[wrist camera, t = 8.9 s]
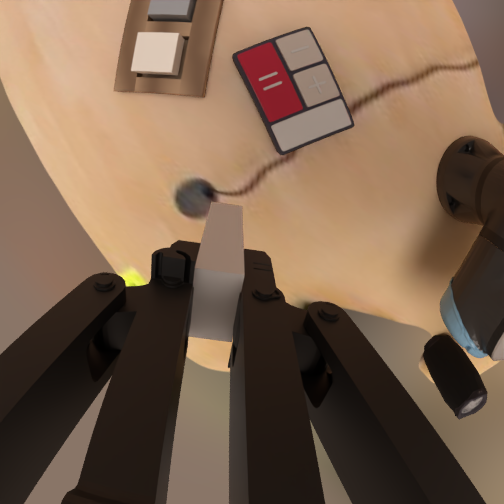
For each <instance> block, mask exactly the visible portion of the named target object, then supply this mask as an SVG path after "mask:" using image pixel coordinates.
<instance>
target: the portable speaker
mask: <svg viewBox="0 0 504 504" xmlns="http://www.w3.org/2000/svg"><path fill="white" fill-rule="evenodd" d="M423 357H424V360H425V363H426V365H427V367H428V370H429V372H430V375H431V377H432V379H433V381H434V382H435V384H436V386H437V387H438V390H439V391H440V393H441V395H442V397H443V399H444V401H445V402H446V403H447V405H448V406H449V407H450V408H451V409H452V410H453V411H454V413H455V416H457V418H458V419H461V418H463V417H466V416H469V415H471V414H474V413H476V412H477V411H478V410H480V409H481V408H482V407H483V406H484V405H485V403H486V400H487V391H486V388H485V386H484V384H483V382H482V380H481V377H480V375H479V373H478V371H477V370H476V368H475V367H474V365H473V364H472V362H471V361H470V359H469V358H468V356H467V355H466V353H465V352H464V351H463V349H462V348H461V347H460V346H459V345H458V344H457V343H456V342H455V341H454V340H453V339H452V338H451V337H450V336H434V337H432V338H431V339H430V340H429V341H428V342H427V343H426V345H425V346H424V355H423Z"/></svg>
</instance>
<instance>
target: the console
mask: <svg viewBox="0 0 504 504" xmlns="http://www.w3.org/2000/svg"><path fill="white" fill-rule="evenodd" d="M150 1H151V0H131V3H130V7H129V11H128V15H127V19H126V24H125V28H124V33H123V38H122V43H121V48H120V54H119V59H118V65H117V71H116V78H115V85H114V91H118V92H145V93H162V94H176V95H187V96H197V97H205V91H206V86H207V80H208V74H209V69H210V63H211V58H212V53H213V48H214V43H215V38H216V33H217V28H218V23H219V18H220V14H221V9H222V5H223V0H196V4H195V8H194V12H193V17H192V21H191V23H188V22H162V21H154V20H153V19H152V18H151V17H150V16H149V15H148V9H149V5H150ZM138 32H163V33H179V34H180V35H181V36H182V37H183V38H184V39H185V40H184V45H183V50H182V56H181V61H180V67H179V72H178V76H177V75H162V74H140V73H137V72H133V71H131V67H132V61H133V56H134V50H135V45H136V40H137V35H138Z"/></svg>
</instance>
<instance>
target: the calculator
mask: <svg viewBox="0 0 504 504" xmlns="http://www.w3.org/2000/svg"><path fill="white" fill-rule="evenodd" d="M233 61H234V63H235V65H236V67H237V69H238V71H239V73H240V75H241V77H242V79H243V81H244V83H245V85H246V87H247V89H248V91H249V93H250V95H251V97H252V99H253V101H254V103H255V105H256V107H257V109H258V112H259V114H260V116H261V118H262V120H263V122H264V124H265V126H266V129H267V131H268V133H269V135H270V137H271V140H272V142H273V144H274V146H275V148H276V151H277V152H278V153H279V154H280V155H285V154H287V153H289V152H292V151H294V150H297V149H299V148H301V147H304V146H306V145H309V144H311V143H314V142H316V141H319V140H321V139H324V138H326V137H329V136H331V135H334V134H336V133H339V132H342V131H344V130H347V129H350V128H352V127H354V121H353V119H352V116H351V114H350V111H349V109H348V107H347V104H346V102H345V99H344V97H343V95H342V92H341V90H340V88H339V86H338V83H337V81H336V79H335V77H334V75H333V72H332V70H331V68H330V66H329V64H328V62H327V60H326V58H325V56H324V54H323V51H322V49H321V47H320V45H319V43H318V42H317V40H316V38H315V36H314V34H313V32H312V30H311V28H309V27H305V28H301V29H298V30H295V31H292V32H289V33H286V34H283V35H280V36H277V37H275V38H272V39H269V40H266V41H264V42H261V43H258V44H256V45H253V46H251V47H248V48H246V49H243V50H241V51H238V52H236V53H234V54H233Z"/></svg>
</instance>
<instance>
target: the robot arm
mask: <svg viewBox="0 0 504 504" xmlns="http://www.w3.org/2000/svg"><path fill="white" fill-rule="evenodd" d="M437 191H438V196H439V199H440V202H441V204H442V206H443V208H444V209H445V210H446V211H447V212H448V213H449V214H450V215H451V216H453V217H454V218H456V219H457V220H459V221H461V222H464V223H471V224H478V225H484V226H483V228H482V230H481V232H480V234H479V235H478V237H477V239H476V241H475V242H474V244H473V246H472V248H471V249H470V251H469V253H468V255H467V256H466V258H465V260H464V261H463V263H462V265H461V266H460V268H459V269H458V271H457V273H456V274H455V276H454V277H452V279H451V280H450V283H449V286H448V288H447V290H446V291H445V293H444V295H443V296H442V298H441V301H440V313H441V316H442V319H443V321H444V323H445V325H446V327H447V329H448V330H449V332H450V333H451V335H452V336H453V337H454V339H455V340H456V341H457V342H458V343H459V344H460V345H461V346H462V347H465V349H466V350H467V352H468V353H470V354H471V355H472V356H474V357H477V358H483V357H485V356H487V355H489V356H490V357H491V359H492V360H493V361H498V360H504V155H503V154H502V153H500V152H499V151H498V150H497V149H496V148H495V147H494V146H493V145H492V144H490V143H489V142H487V141H486V140H483V139H480V138H477V137H473V136H466V137H462V138H460V139H458V140H456V141H455V142H454V143H452V144H451V145H450V147H449V148H448V149H447V150H446V152H445V154H444V155H443V157H442V160H441V162H440V165H439V169H438V175H437ZM485 238H486V239H485ZM489 241H490V242H489ZM493 244H494V245H493ZM497 247H498V248H497ZM501 250H502V251H501ZM188 336H190V337H197V338H204V339H212V340H219V341H227V342H232V337H233V343H232V348H231V353H230V358H229V363H228V368H230V423H229V424H230V425H229V430H230V431H229V504H325V500H324V494H323V489H322V484H321V478H320V472H319V467H318V462H317V456H316V450H315V445H314V440H313V434H312V429H311V424H310V420H311V422H312V424H313V426H314V429H315V430H316V433H317V434H318V436H319V439H320V441H321V443H322V445H323V446H324V449H325V451H326V452H327V455H328V457H329V459H330V460H331V463H332V465H333V467H334V468H335V470H336V472H337V475H338V477H339V478H340V480H341V482H342V484H343V486H344V488H345V490H346V492H347V494H348V496H349V498H350V500H351V502H352V504H486V503H485V502H484V500H483V498H482V497H481V495H480V494H479V492H478V491H477V489H476V488H475V486H474V485H473V484H472V482H471V480H470V479H469V478H468V476H467V475H466V473H465V472H464V470H463V469H462V467H461V466H460V464H459V463H458V462H457V460H456V459H455V457H454V456H453V454H452V453H451V452H450V450H449V449H448V447H447V446H446V445H445V443H444V442H443V440H442V439H441V438H440V436H439V435H438V433H437V432H436V431H435V429H434V428H433V426H432V425H431V424H430V422H429V421H428V420H427V418H426V417H425V415H424V414H423V413H422V411H421V410H420V409H419V407H418V406H417V404H416V403H415V402H414V401H413V399H412V398H411V396H410V395H409V394H408V392H407V391H406V390H405V388H404V387H403V386H402V385H401V383H400V382H399V380H398V379H397V378H396V376H395V375H394V374H393V372H392V371H391V370H390V369H389V368H388V366H387V365H386V363H385V362H384V361H383V359H382V358H381V357H380V355H379V354H378V353H377V351H376V350H375V349H374V348H373V346H372V345H371V344H370V343H369V341H368V340H367V339H366V337H365V336H364V335H363V333H362V332H361V331H360V330H359V328H358V327H357V326H356V325H355V323H354V322H353V321H352V320H351V318H350V317H349V316H348V315H347V313H346V312H345V311H344V310H343V309H342V308H340V307H338V306H337V305H335V304H333V303H330V302H322V301H319V302H313V303H312V304H311V305H309V308H308V311H307V310H303V309H300V308H297V307H294V306H292V305H290V304H288V303H286V302H285V297H284V295H283V293H282V292H281V291H280V290H279V289H278V288H276V283H275V278H274V273H273V268H272V263H271V258H270V257H269V256H268V255H267V254H266V253H265V252H263V251H256V250H249V249H244V244H243V214H242V206H237V205H231V204H224V203H217V202H211V206H210V210H209V214H208V217H207V221H206V225H205V229H204V233H203V237H202V241H201V243H195V242H188V241H181V240H178V241H177V242H175V243H174V244H172V245H171V247H170V248H162V249H159V250H157V251H155V252H154V253H153V254H152V264H151V280H150V282H149V284H146V285H143V286H129V287H125V281H124V279H123V278H122V277H120V276H118V275H116V274H113V273H99V274H94V275H92V276H90V277H89V278H87V279H86V280H85V281H83V282H82V283H81V284H80V285H79V286H77V287H76V288H75V289H74V290H73V291H71V292H70V293H69V294H68V295H66V296H65V297H64V298H63V299H62V300H61V301H59V302H58V303H57V304H56V305H55V306H54V307H52V308H51V309H50V310H49V311H48V312H47V313H46V314H44V315H43V316H42V317H41V318H40V319H39V320H37V321H36V322H35V323H34V324H33V325H32V326H31V327H30V328H28V329H27V330H26V331H25V332H24V333H23V334H22V335H21V336H20V337H19V338H18V339H16V340H15V341H14V342H13V343H12V344H11V345H10V346H9V347H8V348H7V349H6V350H5V351H4V352H3V353H2V354H1V355H0V504H24V502H25V501H26V499H27V498H28V496H29V495H30V493H31V492H32V490H33V489H34V487H35V485H36V484H37V482H38V481H39V479H40V478H41V476H42V475H43V473H44V472H45V470H46V469H47V467H48V466H49V464H50V463H51V461H52V460H53V458H54V457H55V455H56V454H57V452H58V451H59V450H60V448H61V447H62V445H63V444H64V442H65V441H66V439H67V438H68V436H69V435H70V434H71V432H72V431H73V429H74V428H75V426H76V425H77V424H78V422H79V421H80V419H81V418H82V416H83V415H84V414H85V412H86V411H87V409H88V408H89V407H90V405H91V404H92V402H93V401H94V400H95V398H96V397H97V395H98V394H99V393H100V391H101V390H102V388H103V387H104V386H105V384H106V383H107V382H108V380H109V379H110V377H111V376H112V377H111V380H110V383H109V386H108V389H107V391H106V394H105V398H104V400H103V403H102V406H101V409H100V412H99V415H98V418H97V421H96V425H95V428H94V431H93V434H92V437H91V440H90V444H89V447H88V451H87V454H86V457H85V461H84V464H83V468H82V471H81V475H80V479H79V482H78V485H77V486H76V487H75V489H73V490H71V491H69V492H67V494H66V495H65V496H64V498H63V500H62V502H61V504H166V500H167V491H168V482H169V473H170V464H171V456H172V448H173V441H174V432H175V426H176V418H177V411H178V404H179V398H180V391H181V384H182V378H183V372H184V365H185V359H186V353H187V347H188ZM309 418H310V419H309Z"/></svg>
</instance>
